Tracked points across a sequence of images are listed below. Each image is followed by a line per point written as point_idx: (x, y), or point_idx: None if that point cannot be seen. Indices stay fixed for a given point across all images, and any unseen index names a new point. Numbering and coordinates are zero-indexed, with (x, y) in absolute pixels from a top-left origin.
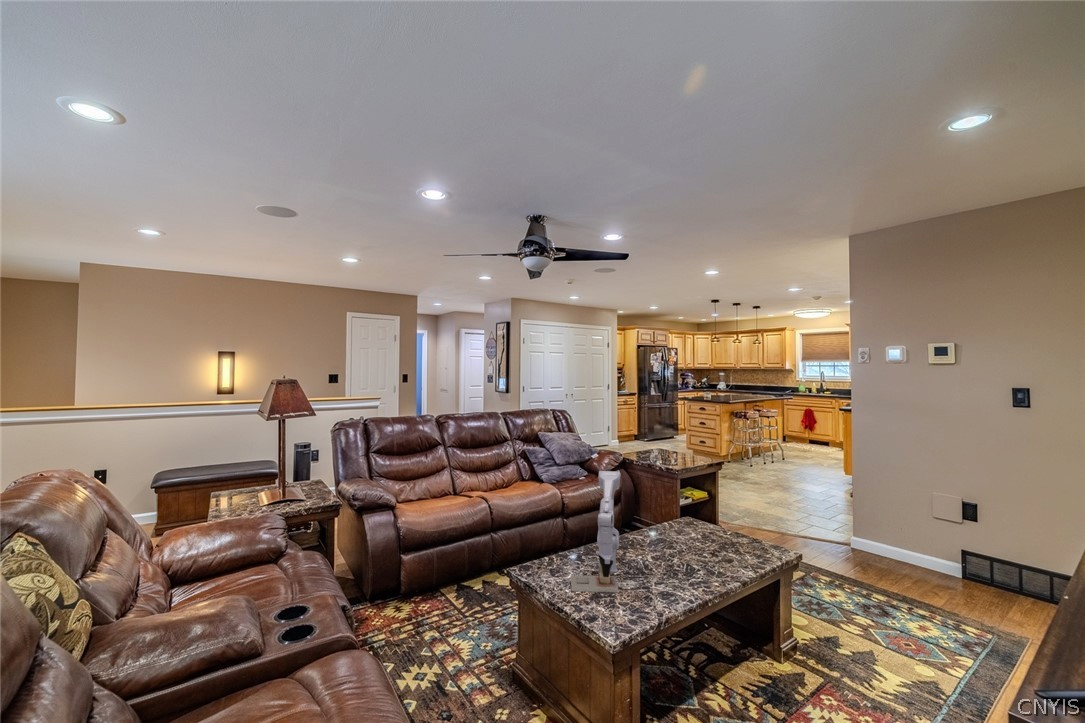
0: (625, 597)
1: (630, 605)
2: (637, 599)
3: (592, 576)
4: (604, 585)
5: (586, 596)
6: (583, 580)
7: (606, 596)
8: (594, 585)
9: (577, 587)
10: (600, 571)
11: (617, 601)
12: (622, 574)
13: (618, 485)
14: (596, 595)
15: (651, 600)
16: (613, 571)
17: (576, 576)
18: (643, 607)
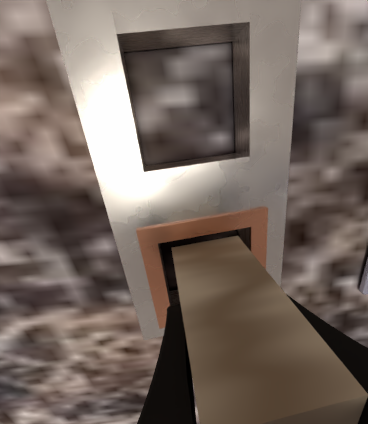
0: (109, 344)
1: (36, 368)
2: (107, 380)
3: (277, 185)
4: (147, 274)
5: (31, 150)
6: (240, 112)
7: (85, 269)
8: (130, 211)
9: (64, 55)
10: (183, 319)
11: (50, 321)
12: (334, 309)
13: None
14: (75, 216)
15: (117, 414)
16: (364, 277)
17: (276, 30)
18: (43, 404)
